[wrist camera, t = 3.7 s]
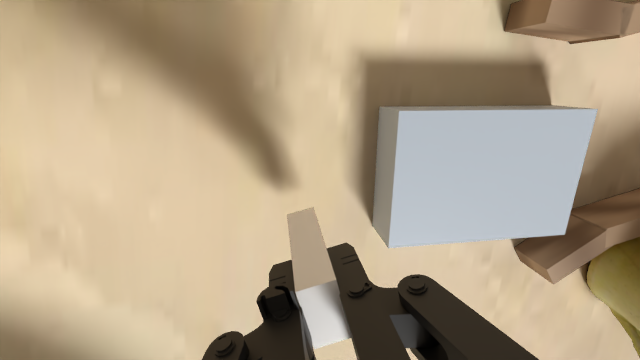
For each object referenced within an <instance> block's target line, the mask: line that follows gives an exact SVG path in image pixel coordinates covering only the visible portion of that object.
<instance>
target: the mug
mask: <svg viewBox="0 0 640 360" xmlns="http://www.w3.org/2000/svg"><path fill="white" fill-rule="evenodd" d="M587 283H588V286H589V288H590V290H591V291H592V293H593V294H594V295H595V296H596V297H597V298H599V299H600V300H601V301H603V302H604V303H605V304H606V305H608V306H609V308H610V309H611V311H612V313H613V314H614V316H615V317H616V318H617V319H618V321H619V322H620V323H621V325H622V326H623V327H624V329H625V331H626V332H627V333H628V335H629V336H630V337H631V339H632V342H633V345H634V348H635V349H636V351H637V353H638V355H639V357H640V237H637V238H634V239H631V240H628V241H625V242H622V243H619V244H616V245H613V246H612V247H610V248H609V249H607V250H606V251H604V252H603V253H601V254H599V255H598V256H596V257H595V258H593V259H592V260H591V263H590V265H589V267H588V272H587Z"/></svg>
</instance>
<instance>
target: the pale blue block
mask: <svg viewBox="0 0 640 360" xmlns="http://www.w3.org/2000/svg"><path fill="white" fill-rule="evenodd" d="M597 110H598V109H590V108H578V107H566V106H553V105H532V106H388V107H379V122H378V139H377V156H376V172H375V189H374V206H373V222H372V226H373V227H374V229H375V230H376V231H377V233H378V234H379V235H380V237H381V238H382V240H383V241H384V242H385V244H386V245H387V247H388V248H396V247H409V246H422V245H435V244H448V243H462V242H475V241H488V240H501V239H514V238H528V237H541V236H554V235H565V232H566V228H567V224H568V220H569V217H570V213H571V209H572V205H573V201H574V198H575V194H576V190H577V186H578V182H579V178H580V175H581V171H582V167H583V163H584V159H585V156H586V152H587V148H588V144H589V140H590V137H591V133H592V129H593V125H594V121H595V118H596V114H597Z"/></svg>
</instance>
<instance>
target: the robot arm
mask: <svg viewBox="0 0 640 360" xmlns="http://www.w3.org/2000/svg"><path fill="white" fill-rule="evenodd" d="M287 219H288V229H289V238H290V247H291V257H292V260H289V261H286V262H282V263H279V264H276V265H273V267H272V269H271V271H270V272H269V287H268V288H266V289H265V290H263V291H262V292H261V294H260V295H259V296H258V298H257V301H256V302H257V304H258V307H259V309H260V312H261V315H262V317H263V323H262V324H261V325H260V326H259V327H258V328H257V329H255V330H254V331H252V332H251V333H249V334H247V335H245V336H244V337H243V335H242V334H241V333H239V332H236V331H231V332H227V333H224V334H222V335H221V336H219V337H217V338H216V339H215V340H214V341H213V342H212V343H211V344H210V346H209V347H208V349H207V350H206V352H205V354H204V356H203V359H202V360H316V357H315V354H314V352H313V347H314V349H317V348H320V347H323V346H326V345H329V344H333V343H336V342H339V341H342V340H345V339H349V338H352V342H353V345H354V349H355V353H356V356H357V360H411V359H410V357H409V355H408V353H407V351H406V349H405V348H410V349H411V351H412V353H413V354H414V355H415V356H416V357H417V358H418V360H539V359H537V358H536V357H535V356H533V355H532V354H531V353H530V352H528V351H527V350H526V349H524V348H523V347H522V346H520V345H519V344H518V343H516V342H515V341H514V340H512V339H511V338H510V337H508V336H507V335H506V334H504V333H503V332H502V331H500V330H499V329H498V328H496V327H495V326H494V325H492V324H491V323H490V322H489V321H487V320H486V319H485V318H483V317H482V316H481V315H479V314H478V313H477V312H475V311H474V310H473V309H471V308H470V307H469V306H467V305H466V304H465V303H463V302H462V301H461V300H459V299H458V298H457V297H455V296H454V295H453V294H451V293H450V292H449V291H448V290H446V289H445V288H444V287H442V286H441V285H440V284H438V283H437V282H436V281H434V280H433V279H431V278H429V277H428V276H424V275H410V276H407V277H405V278H403V279H402V280H401V281H400V282H399V284H398V288H382V287H378V286H376V285H374V284H373V283H372V282H371V281H370V280H369V279H368V277H367V275H366V273H365V270H364V268H363V266H362V264H361V262H360V260H359V258H358V256H357V254H356V252H355V249H354V247H352V246H351V245H349V244H348V243H344V244H340V245H337V246H334V247H330V248H327V249H326V245H325V242H324V239H323V236H322V233H321V230H320V226H319V223H318V220H317V217H316V214H315V211H314V207H312V208H309V209H305V210H302V211H298V212H295V213H291V214H288V215H287ZM312 344H313V345H312Z"/></svg>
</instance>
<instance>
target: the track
mask: <svg viewBox="0 0 640 360" xmlns="http://www.w3.org/2000/svg"><path fill="white" fill-rule="evenodd" d="M505 32H512V33H518V34H524V35H531V36H537V37H544V38H550V39H556V40H563V41H569V42H570V44H574V43H582V42H590V41H598V40H606V39H614V38H621V37H624V36H628V35H632V34H635V33H639V32H640V0H637V1H634V2H630V3H623V2H617V1H612V0H521V1H518V2H515V3H512V4H511V7H510V11H509V15H508V19H507V23H506V27H505ZM637 237H640V189H636V190H633V191H630V192H627V193H623V194H620V195H617V196H614V197H611V198H607V199H604V200H601V201H598V202H595V203H591V204H588V205H585V206H582V207H579V208H575V209H572V210H571V213H570V217H569V220H568V224H567V228H566V232H565V235H554V236H541V237H529V238H528V239H526V240H525V241H523V242H522V243H520V244H519V245H517V246H516V247H514V249H515V251H516V253H517V255H518V257H519V259H520V261H521V262H523V263H524V264H526V265H527V266H528V267H530V268H531V269H533V270H534V271H535V272H537V273H538V274H540V275H541V276H542V277H544V278H545V279H547V280H548V281H549V282H551V283H552V284H555V283H556V282H558V281H559V280H561V279H563V278H564V277H566V276H567V275H569V274H570V273H572V272H573V271H575V270H576V269H578V268H579V267H581V266H583V265H584V264H586V263H587V262H589V261H590V260H592V259H593V258H595V257H596V256H598V255H599V254H601V253H603V252H604V251H606V250H607V249H609V248H610V247H612V246H613V245H616V244H619V243H622V242H625V241H628V240H631V239H634V238H637Z"/></svg>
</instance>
